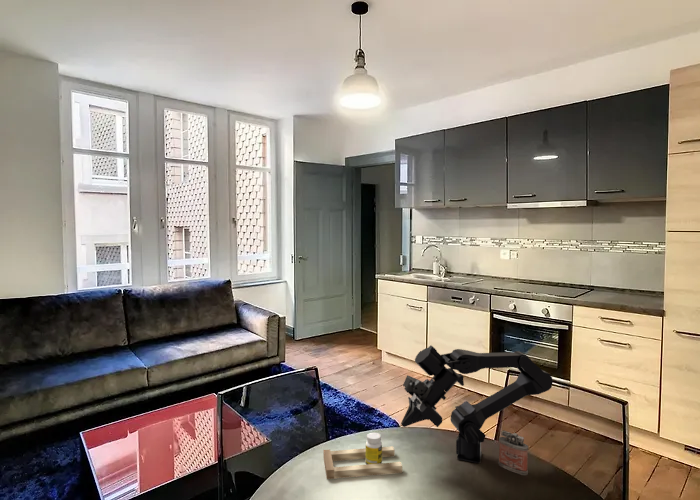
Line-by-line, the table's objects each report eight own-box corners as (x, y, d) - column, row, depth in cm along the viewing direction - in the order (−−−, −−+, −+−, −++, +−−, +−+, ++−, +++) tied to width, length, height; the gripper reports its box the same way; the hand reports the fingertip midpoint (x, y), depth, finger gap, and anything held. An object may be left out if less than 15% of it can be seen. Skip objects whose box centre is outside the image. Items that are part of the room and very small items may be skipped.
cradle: (392, 452, 125) (392, 444, 125) (402, 472, 114) (402, 463, 114) (323, 458, 122) (323, 449, 122) (326, 479, 111) (326, 470, 111)
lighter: (529, 471, 115) (530, 436, 115) (525, 476, 112) (525, 440, 112) (501, 460, 120) (501, 426, 120) (496, 465, 118) (496, 431, 118)
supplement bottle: (380, 470, 116) (380, 440, 115) (364, 468, 117) (364, 438, 116) (382, 460, 120) (383, 432, 120) (366, 459, 121) (366, 430, 121)
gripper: (410, 357, 129) (376, 394, 128) (431, 378, 110) (390, 421, 109) (435, 381, 130) (400, 418, 129) (459, 405, 112) (419, 448, 110)
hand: (402, 425), depth 119 cm, fingers closed
